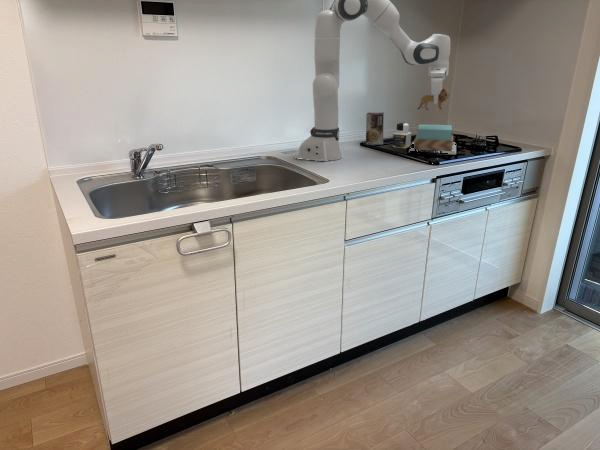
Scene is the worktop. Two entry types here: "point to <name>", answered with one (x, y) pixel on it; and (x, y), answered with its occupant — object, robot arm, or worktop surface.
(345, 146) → the worktop surface
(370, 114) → the coffee box
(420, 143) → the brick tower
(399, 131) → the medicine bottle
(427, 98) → the lion figurine
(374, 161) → the worktop surface
